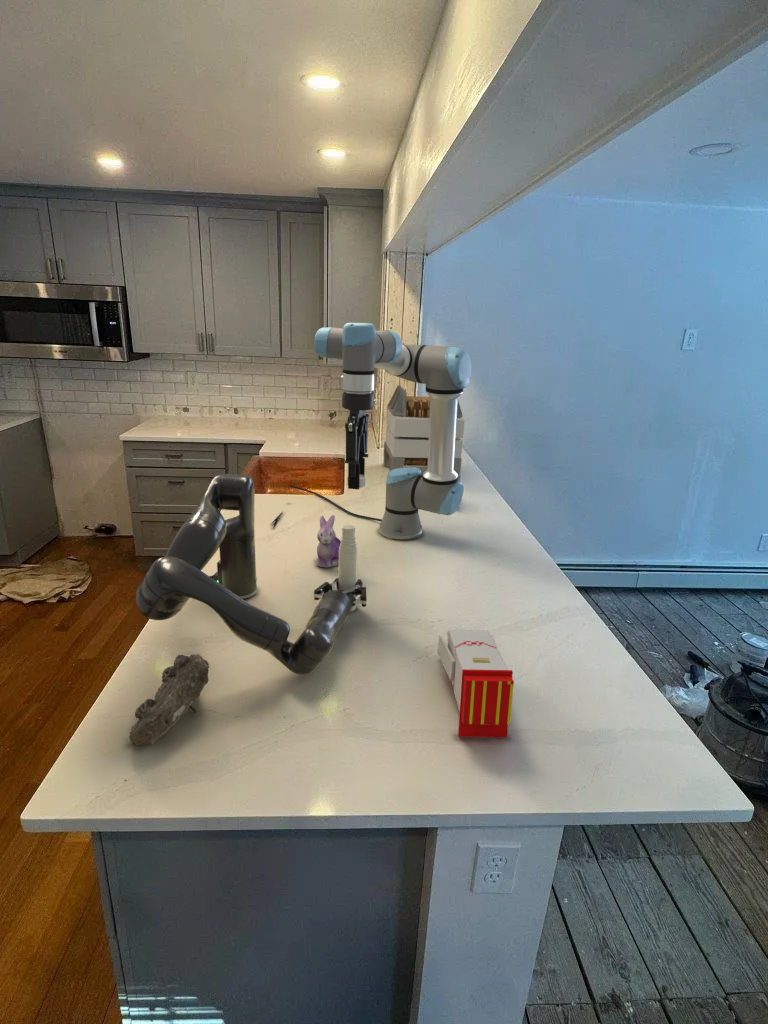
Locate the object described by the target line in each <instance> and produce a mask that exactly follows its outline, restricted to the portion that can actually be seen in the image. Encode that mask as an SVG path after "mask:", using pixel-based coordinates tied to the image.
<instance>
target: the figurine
mask: <svg viewBox="0 0 768 1024" xmlns="http://www.w3.org/2000/svg"><path fill="white" fill-rule="evenodd" d="M335 518H336V515H334V514H332V515H331V516H330V517H329V518H328V520H326V518H325V516H324V515H321V516H320V517H319V530H318V532H317V536H316V538H317V541H318V544H317V547H316V555H317V559H316V562H317V566H318V567H320V568H321V567H322V568H331V567H337V566H339V546H340V543H341V539H339V538H338V537H337V536H336V532H335V530H334V524H335Z"/></svg>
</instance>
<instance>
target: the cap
mask: <svg viewBox="0 0 768 1024" xmlns="http://www.w3.org/2000/svg"><path fill="white" fill-rule="evenodd" d="M346 479H347V482H346V483H347V484H346V485H347V486H348V477H347V478H346ZM365 486H366V475H365V476H364V475H361V474H360V482H359V489H362V488H364V487H365Z"/></svg>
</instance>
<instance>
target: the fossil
mask: <svg viewBox="0 0 768 1024" xmlns="http://www.w3.org/2000/svg"><path fill="white" fill-rule="evenodd" d="M209 665H210V664H209V662H208V660H207V659H204V658H203V656H202V655H200V653H199V654H198V653H197V654H195V653H193V654H190V655H184V654H178V655H177V656H176V657H175V660H174V661H173V665H171V666H167V667H166V668H165V669H163V671H162V672H161V674H162V675H161V682H162V684H161V685H160V687H158V689H157V691H156V693H155V695H154V699H153V698H147V699H146V700H145V701H144V702H142V703H141V704H139V706H138V707H137V708H136V709H135V712H134V717H135V718H136V719H138V720H137V721H136V722H135V724H134V725H132V726H131V729H130V732H129V736H128V737H129V740H130V743H132V744H134V745H136V746H144V745H150V744H151V745H153V744H154V743H156V742H157V741H158V740H159V739H160V738H161V737H162V736H163V735H165V734H166V733H167V732H168V731H169V730H170V729H171V728H172V727H173V726H174V725H175V724H176V723H177V722H179V720H180V719H181V718H182V715H183V714H185V713H186V712H187V710H188V709H190V710H191V711H192V712H193V713H194V714H197V713H198V712H197V710H196V709H195V708H194V707H193V706H192V705H191V704H192V703H193V702H196V701H197V700H198V699H199V698H200V696H201V693H202V692H203V690H204V688H205V686H206V685H207V684H208V683H209V668H210V666H209Z"/></svg>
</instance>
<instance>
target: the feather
mask: <svg viewBox="0 0 768 1024" xmlns="http://www.w3.org/2000/svg"><path fill="white" fill-rule="evenodd" d="M282 514H283V512H280V514H279V515H278V516H277V517H275V519H274V520H273V521H272V522H271V524H270V526H272V525H273V529H274V528H275V526H276V524H277V523H278V521H279V520H280V518H281V516H282Z"/></svg>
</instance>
